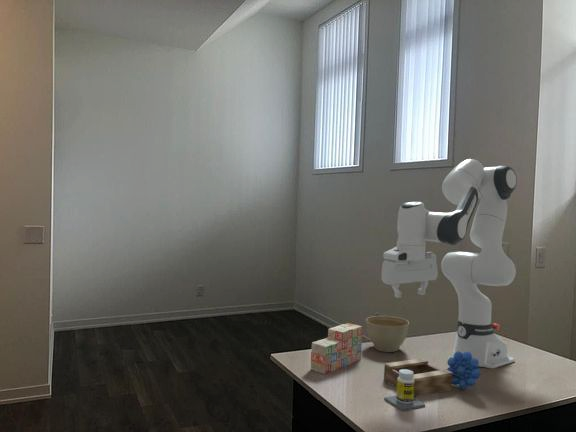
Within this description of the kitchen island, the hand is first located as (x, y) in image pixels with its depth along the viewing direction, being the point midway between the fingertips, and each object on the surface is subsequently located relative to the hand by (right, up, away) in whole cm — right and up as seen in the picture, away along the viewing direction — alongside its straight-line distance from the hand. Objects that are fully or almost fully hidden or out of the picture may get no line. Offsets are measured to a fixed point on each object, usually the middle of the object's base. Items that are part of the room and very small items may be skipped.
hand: (409, 295), depth 157 cm
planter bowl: (-1, -26, +32) cm, 41 cm away
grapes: (+15, -28, -6) cm, 32 cm away
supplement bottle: (-6, -27, -18) cm, 33 cm away
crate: (+1, -27, -4) cm, 27 cm away
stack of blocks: (-22, -26, +12) cm, 36 cm away
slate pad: (-6, -27, -18) cm, 33 cm away
